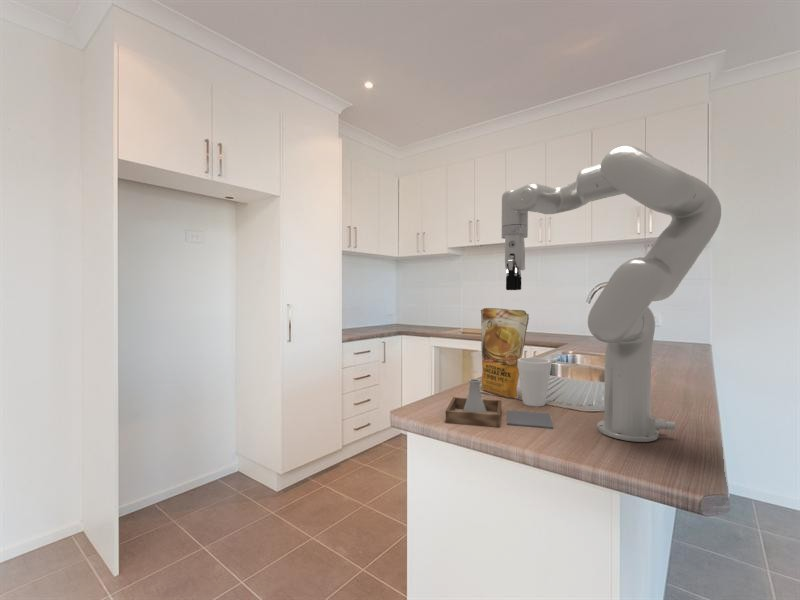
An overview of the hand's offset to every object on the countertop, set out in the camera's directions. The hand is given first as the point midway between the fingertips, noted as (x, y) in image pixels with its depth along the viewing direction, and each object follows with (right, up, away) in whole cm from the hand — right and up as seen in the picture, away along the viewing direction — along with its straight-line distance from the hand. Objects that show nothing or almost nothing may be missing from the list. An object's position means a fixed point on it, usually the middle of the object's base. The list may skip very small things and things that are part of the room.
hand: (513, 289), depth 118 cm
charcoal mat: (0, -35, -15) cm, 38 cm away
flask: (-14, -35, -12) cm, 39 cm away
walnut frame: (-14, -35, -12) cm, 39 cm away
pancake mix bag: (-1, -34, +13) cm, 36 cm away
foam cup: (+6, -34, 0) cm, 35 cm away
